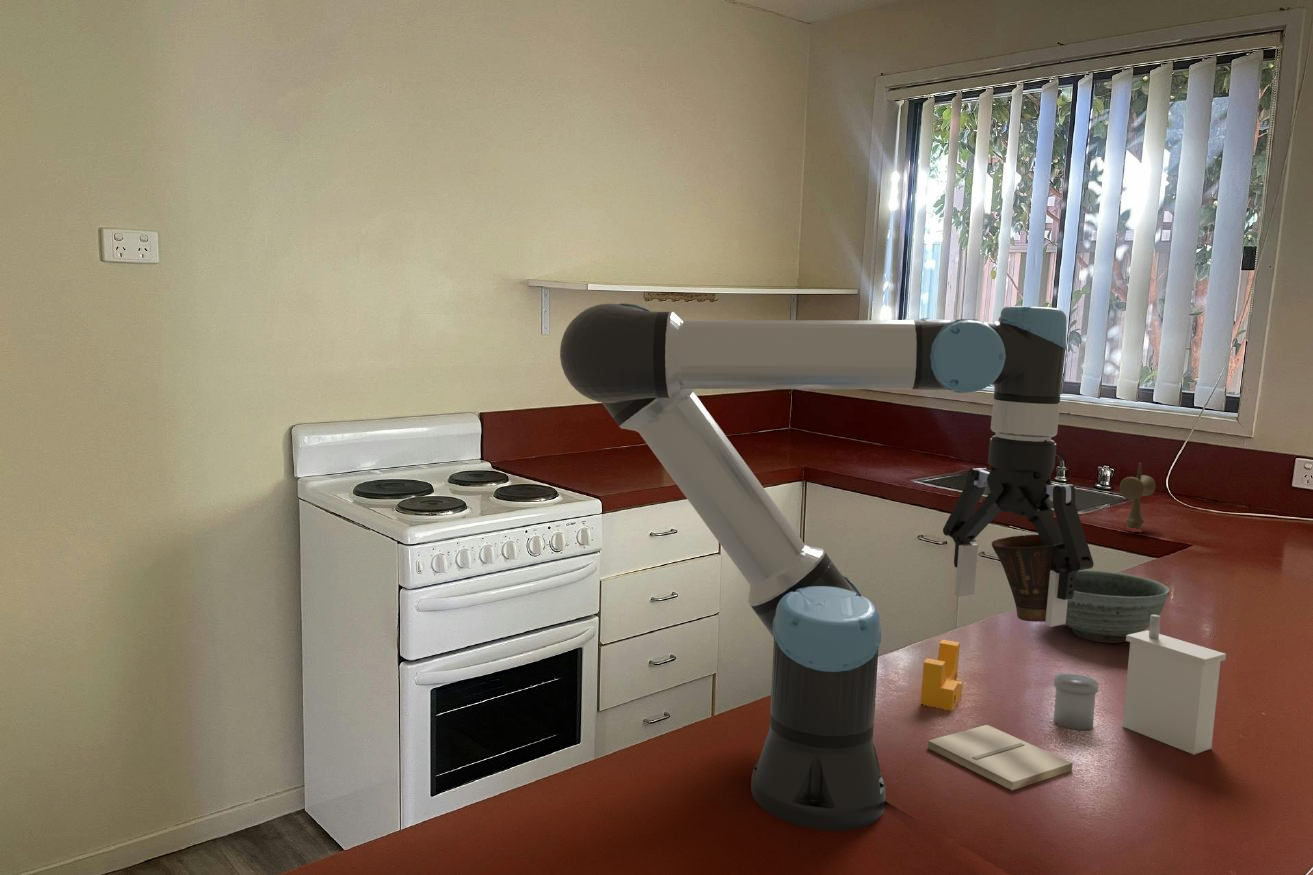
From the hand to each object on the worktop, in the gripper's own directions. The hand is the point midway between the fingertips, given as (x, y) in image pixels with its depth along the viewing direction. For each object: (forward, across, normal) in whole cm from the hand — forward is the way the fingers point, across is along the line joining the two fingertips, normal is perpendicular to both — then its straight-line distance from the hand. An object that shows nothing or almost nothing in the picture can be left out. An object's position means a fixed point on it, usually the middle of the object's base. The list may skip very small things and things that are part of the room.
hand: (1007, 609), depth 124 cm
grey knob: (+19, +3, -19) cm, 27 cm away
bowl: (+19, +26, -58) cm, 67 cm away
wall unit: (+19, -6, -26) cm, 33 cm away
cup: (0, -3, 0) cm, 3 cm away
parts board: (+19, 0, 0) cm, 19 cm away
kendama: (+19, +74, -142) cm, 161 cm away
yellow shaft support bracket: (+20, +18, -11) cm, 29 cm away
